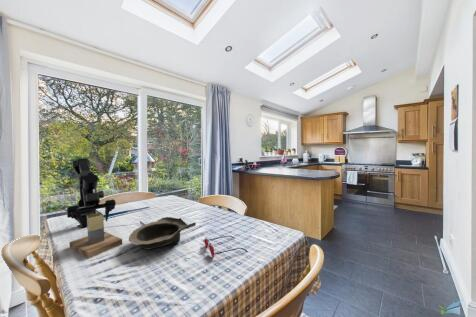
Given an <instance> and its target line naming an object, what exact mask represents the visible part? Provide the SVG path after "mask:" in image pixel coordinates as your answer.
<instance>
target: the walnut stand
mask: <svg viewBox="0 0 476 317" xmlns="http://www.w3.org/2000/svg"><path fill="white" fill-rule="evenodd" d="M123 244H124V243H123V239H122V238H121V237H118V236H116V235H113V234H112V233H109V232H107V231H104V241H101V242H98V243H94V244H89V241H88V235H87V236H84V237H80V238H77V239H74V240H71V241H69V248H70V249H72V250H74V251H75V252H77V253H78V254H80V255H82V256H83V257H85V258H87V259H90V258H93V257H96V256H97V255H100V254H102V253H105V252H108V251H110V250H112V249H114V248H116V247H120V246H121V245H123Z"/></svg>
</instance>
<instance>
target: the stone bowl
mask: <svg viewBox="0 0 476 317" xmlns="http://www.w3.org/2000/svg"><path fill="white" fill-rule="evenodd" d="M187 226H188V223H187V222H186V221H184V220H183V219H182V218H181V217H180V218H177V217H172V216H166V217H161V218H159V219H157V221H156V220H155V221H150V222H148V223H145V224H143V225H142V226H141V225H140V226H139V227H138V228H136V229H134V230H133V231H132V232H131V233H130V234H129V236H128V242H130V243H131V244H133V245H136V246H140V247H141V249H144V250H151V249H156V248H161V247H164V246H167V245H170V244H173V245H176V244H179V243H180V240H181V232H182V231H183V230H184V229H185V227H187Z"/></svg>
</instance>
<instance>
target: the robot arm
mask: <svg viewBox="0 0 476 317" xmlns="http://www.w3.org/2000/svg"><path fill="white" fill-rule="evenodd" d="M91 166H92V165H91V160H89V158H86V157H85V158H84V157H83V158H77V159H75V160H73V161H72V163H71V169H72V170H73V172H74V174H75V175H76V176H77V183H78V190H79V198H80V199H79V201H78V202H77V204H75V205H69V206H67V207H66V217H67V218H71V219H75V221H76V222H78V225H77V227H79V228H81V229H85V228H87V215H89V214H94V213H97V210H98V209H105V210H104V216H105V222H106V223H107V222H108V220H109V214H110V212H112V211H113V210H115V208H116V204H117V203H116V202H117V201H116V199H113V198H112V199H105V202H104V203H100V202H101V199H104V197H105V194H104V190H99V191H98V192H97V187H98V185H99V184H98V183H99V181H100V178H99V177H98V176H97V175H96V173H95V172H93V171H91Z"/></svg>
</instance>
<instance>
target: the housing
mask: <svg viewBox="0 0 476 317" xmlns="http://www.w3.org/2000/svg"><path fill="white" fill-rule="evenodd" d="M86 229H87V236H88V241H89V244H94V243H98V242H101V241H104V232H105V223H104V214H103V213H102V212H101V211H99V212H96V213H94V214H89V215H87V227H86Z"/></svg>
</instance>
